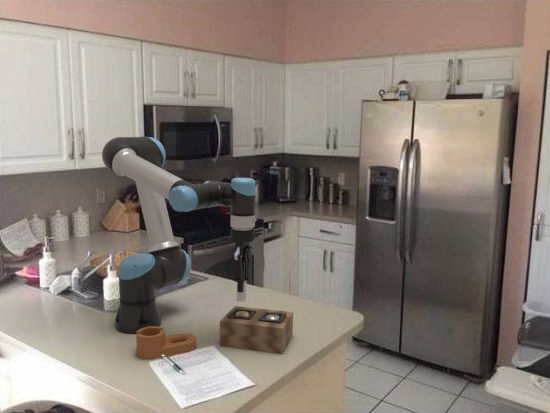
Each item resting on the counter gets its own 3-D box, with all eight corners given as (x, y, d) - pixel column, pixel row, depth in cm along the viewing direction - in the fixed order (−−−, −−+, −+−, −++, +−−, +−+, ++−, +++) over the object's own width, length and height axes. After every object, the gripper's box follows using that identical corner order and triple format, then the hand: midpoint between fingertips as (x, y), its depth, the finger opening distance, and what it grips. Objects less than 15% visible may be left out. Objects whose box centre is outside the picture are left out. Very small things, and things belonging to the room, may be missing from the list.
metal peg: (264, 342, 156) (264, 318, 155) (267, 337, 160) (268, 313, 159) (276, 344, 155) (277, 319, 154) (280, 339, 159) (280, 315, 158)
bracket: (140, 362, 144) (139, 339, 143) (134, 350, 151) (133, 329, 150) (200, 350, 152) (199, 328, 151) (191, 340, 159) (191, 319, 158)
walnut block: (219, 345, 155) (219, 319, 153) (234, 328, 168) (234, 304, 167) (282, 353, 150) (282, 326, 148) (292, 335, 163) (293, 310, 162)
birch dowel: (234, 338, 159) (234, 314, 157) (238, 334, 162) (238, 310, 161) (246, 340, 158) (246, 316, 156) (250, 335, 161) (250, 311, 160)
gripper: (247, 233, 147) (246, 309, 151) (260, 225, 160) (258, 295, 164) (223, 231, 149) (222, 306, 153) (238, 223, 162) (236, 292, 166)
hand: (241, 300), depth 158 cm, fingers closed
